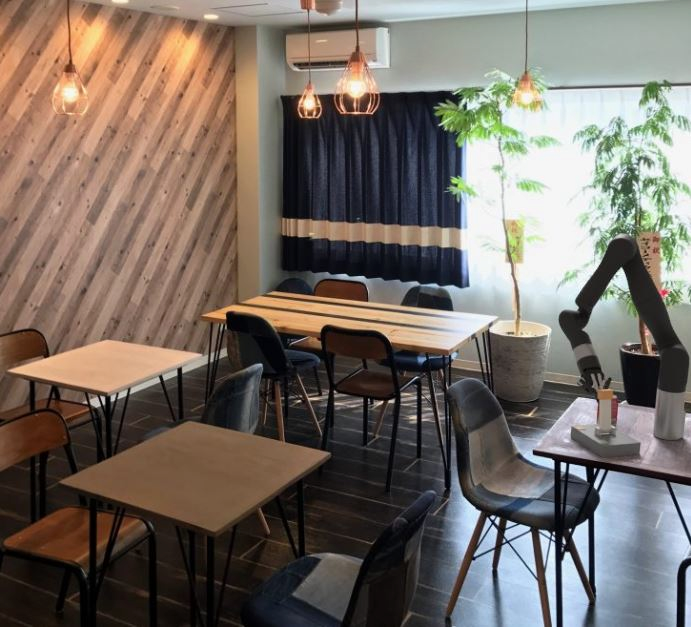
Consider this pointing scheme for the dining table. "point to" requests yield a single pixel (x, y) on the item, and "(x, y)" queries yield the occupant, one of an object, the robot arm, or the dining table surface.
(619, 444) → the switch panel
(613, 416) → the soda can
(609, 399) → the lever
